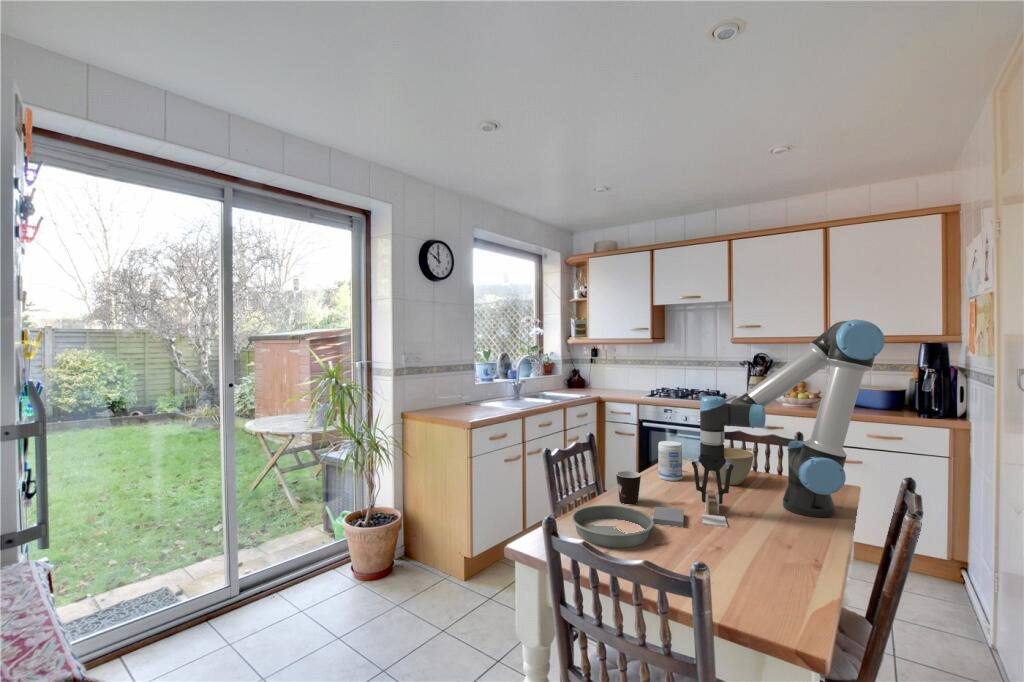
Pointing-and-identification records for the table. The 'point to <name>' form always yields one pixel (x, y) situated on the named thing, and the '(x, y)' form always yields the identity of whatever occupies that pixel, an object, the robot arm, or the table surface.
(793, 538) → the table surface
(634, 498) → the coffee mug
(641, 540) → the cake pan
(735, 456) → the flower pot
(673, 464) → the supplement tub
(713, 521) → the wooden handled spatula
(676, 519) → the standing tile
